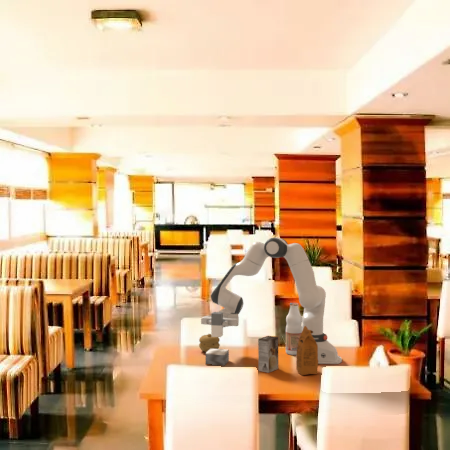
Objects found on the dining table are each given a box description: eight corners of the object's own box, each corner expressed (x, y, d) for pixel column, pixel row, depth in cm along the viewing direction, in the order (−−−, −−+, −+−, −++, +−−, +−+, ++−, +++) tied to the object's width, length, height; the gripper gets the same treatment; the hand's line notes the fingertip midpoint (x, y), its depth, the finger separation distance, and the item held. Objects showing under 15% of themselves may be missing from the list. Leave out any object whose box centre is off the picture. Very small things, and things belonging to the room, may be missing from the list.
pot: (223, 350, 318) (223, 333, 318) (212, 355, 308) (212, 337, 308) (206, 348, 324) (206, 330, 324) (194, 352, 315) (194, 334, 314)
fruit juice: (282, 353, 313) (282, 303, 312) (292, 350, 319) (293, 301, 319) (295, 356, 306) (295, 305, 305) (306, 353, 312) (306, 303, 312)
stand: (228, 360, 296) (228, 349, 296) (224, 365, 287) (224, 354, 287) (210, 359, 299) (210, 348, 299) (205, 364, 289) (205, 353, 289)
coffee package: (313, 368, 282) (314, 325, 281) (319, 375, 269) (319, 330, 269) (294, 369, 281) (294, 325, 281) (299, 376, 269) (299, 330, 268)
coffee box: (268, 366, 285) (268, 335, 285) (278, 368, 281) (278, 337, 281) (257, 370, 278) (258, 338, 278) (268, 373, 274) (268, 340, 274)
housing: (222, 335, 294) (223, 312, 294) (220, 337, 289) (220, 314, 289) (213, 334, 295) (213, 312, 295) (211, 336, 291) (211, 313, 290)
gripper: (204, 312, 307) (197, 316, 294) (241, 313, 303) (235, 318, 289) (204, 323, 307) (197, 328, 294) (240, 325, 303) (235, 330, 289)
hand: (216, 323), depth 291 cm, fingers closed on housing, 5 cm apart
